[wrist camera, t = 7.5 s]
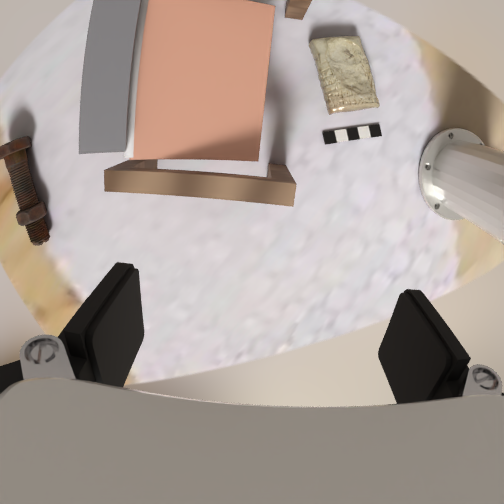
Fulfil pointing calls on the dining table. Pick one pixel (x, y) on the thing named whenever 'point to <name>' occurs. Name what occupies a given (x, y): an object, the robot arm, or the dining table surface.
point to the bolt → (25, 190)
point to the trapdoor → (175, 79)
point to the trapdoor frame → (208, 183)
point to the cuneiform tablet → (345, 83)
